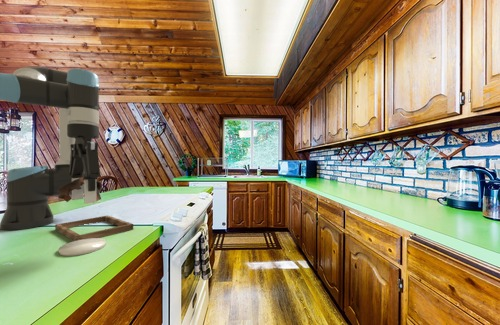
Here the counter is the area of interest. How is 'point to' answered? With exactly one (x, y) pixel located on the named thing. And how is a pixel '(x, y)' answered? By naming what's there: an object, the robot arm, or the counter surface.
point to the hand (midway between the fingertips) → (83, 201)
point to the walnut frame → (75, 236)
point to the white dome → (82, 247)
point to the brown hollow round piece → (76, 186)
